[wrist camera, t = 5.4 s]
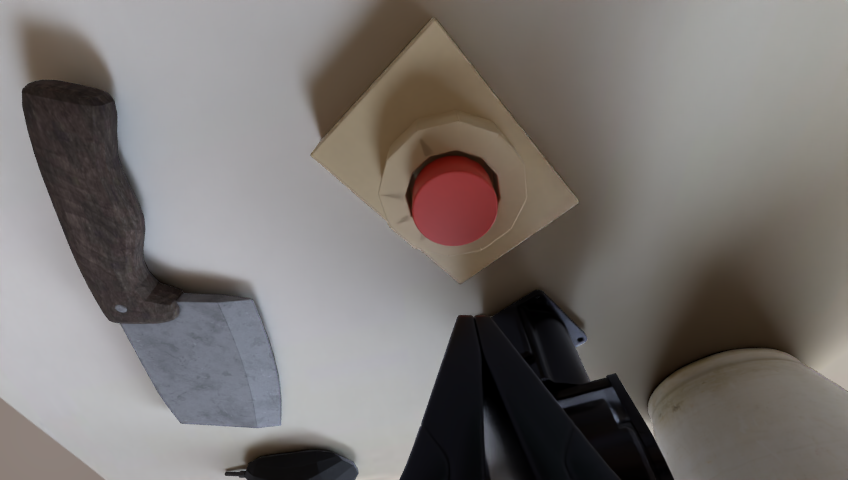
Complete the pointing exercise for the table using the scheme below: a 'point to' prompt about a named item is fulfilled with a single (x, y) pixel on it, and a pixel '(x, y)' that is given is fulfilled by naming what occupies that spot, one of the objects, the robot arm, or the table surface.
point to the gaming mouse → (300, 467)
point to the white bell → (751, 419)
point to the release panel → (442, 150)
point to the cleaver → (146, 270)
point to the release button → (453, 201)
